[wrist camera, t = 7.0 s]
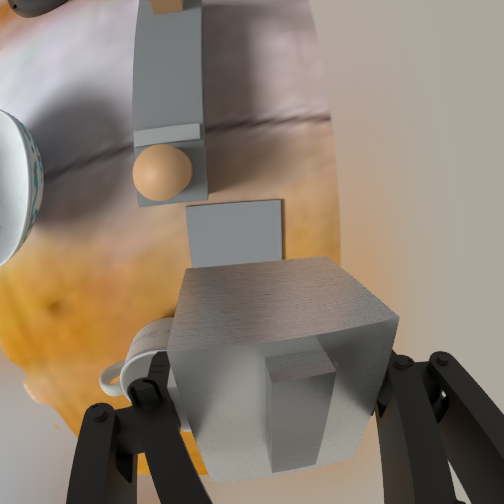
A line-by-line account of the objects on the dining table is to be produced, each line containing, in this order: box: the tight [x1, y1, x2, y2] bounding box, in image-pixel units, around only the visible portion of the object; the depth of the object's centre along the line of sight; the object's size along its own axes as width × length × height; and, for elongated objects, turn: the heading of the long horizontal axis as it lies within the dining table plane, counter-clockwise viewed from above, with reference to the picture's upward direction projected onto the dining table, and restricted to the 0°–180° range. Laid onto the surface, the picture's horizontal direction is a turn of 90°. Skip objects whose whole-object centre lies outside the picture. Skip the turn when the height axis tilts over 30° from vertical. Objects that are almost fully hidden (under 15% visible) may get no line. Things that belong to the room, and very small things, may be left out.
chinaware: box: [0, 110, 44, 266], centre depth 18 cm, size 15×15×8 cm
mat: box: [186, 200, 282, 268], centre depth 27 cm, size 9×9×1 cm
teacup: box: [99, 317, 174, 402], centre depth 26 cm, size 14×11×8 cm
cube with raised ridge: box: [167, 256, 399, 482], centre depth 10 cm, size 8×6×7 cm
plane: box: [133, 0, 209, 207], centre depth 16 cm, size 21×6×12 cm, turn 3°
